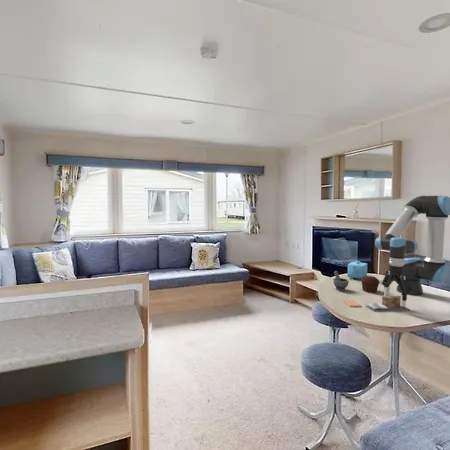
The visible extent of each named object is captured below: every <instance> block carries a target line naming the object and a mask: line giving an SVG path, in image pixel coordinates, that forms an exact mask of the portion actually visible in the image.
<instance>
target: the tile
mask: <svg viewBox="0 0 450 450" xmlns="http://www.w3.org/2000/svg"><path fill="white" fill-rule="evenodd" d="M342 302H343V304H345V305H346V306H348V307H349V308H362V304H360V303H359V302H357V301H356V300H353V299H352V300H346V299H344V300H342Z"/></svg>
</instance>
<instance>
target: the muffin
mask: <svg viewBox="0 0 450 450" xmlns="http://www.w3.org/2000/svg"><path fill="white" fill-rule="evenodd" d="M360 282H361V289H362V291H363V292H366V293H370V292H371V293H378V288H379V284H380V283H381V282H380V280H379V279H378V278H377V277H375V276H374V275H373V276H372V275H367V276H365V277H363V278H362V279H361V280H360Z"/></svg>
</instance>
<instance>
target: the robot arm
mask: <svg viewBox="0 0 450 450" xmlns="http://www.w3.org/2000/svg"><path fill="white" fill-rule="evenodd" d="M421 214H422V215H425V218H426V219H427V220H428V222H427V223H428V225H427V236H426V237H427V239H426V240H427V241H426V253H425V254H426V257H424V258H423V259H422V258H420V257H405V256H406V254H412V253H414V252H416V251H417V250H418V248H419V245H418V243H417V242H416V241H415V240H413V239H406V238H405V237H401V236H402V235H403V234H404V232H405V230H406V229H407V228H408V226H409V225H410V224H411V222H412V221H413V220H414V218H415V219H416V218H417V217H418V216H419V215H421ZM449 216H450V197H449V196H448V195H419V196H416V197H413V199H411V200H409V201H408V202H407V203H406V204H405V205H404V206H403V207H402V210H401V213H399V216H398V217H396V219H395V221H394V222H393V223H392V224H391V226H390V227H389V228H388V230H387V231H386V232H385V234H384V235H383V236H378V237H377V238H376V239H375V241H374V245H375V248H376V249H377V250H378V249H379V250H383V251H389V255H388V256H389V258H388V259H389V260H388V264H389V265H388V270H386V271H385V275H384V277H383V280H382V282H381V285H382V286H383V288H384V290H383V291H384V293H383V294H384V295H383V296H390V290H391V288H390V285H392V283H393V282H395V283H396V284H397V286H396V291H397V292H398V293H400V296H401V302H400V306H405V307H406V306H407V298H408V295H409V296H410V295H412V296H423V293H424V290H423V286H422V283H421V280H425V281H428V282H433V283H440V284H441V283H443V282H445V281H446V280H447V278H448V276H449V274H450V268H449V265H447V264H446V261H445V259H444V241H445V227H446V226H445V225H446V220H447V219H448V218H449Z"/></svg>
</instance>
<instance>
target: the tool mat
mask: <svg viewBox="0 0 450 450" xmlns="http://www.w3.org/2000/svg"><path fill="white" fill-rule="evenodd" d="M365 306H366V308H367V309H369V310H370V311H373V312H391V311H393V312H394V311H395V312H396V311H397V312H398V311H410V310H411V309H410V308H408V307H406V306H405V308H388V309H373V308H371V307H370V306H368V305H365Z"/></svg>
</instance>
